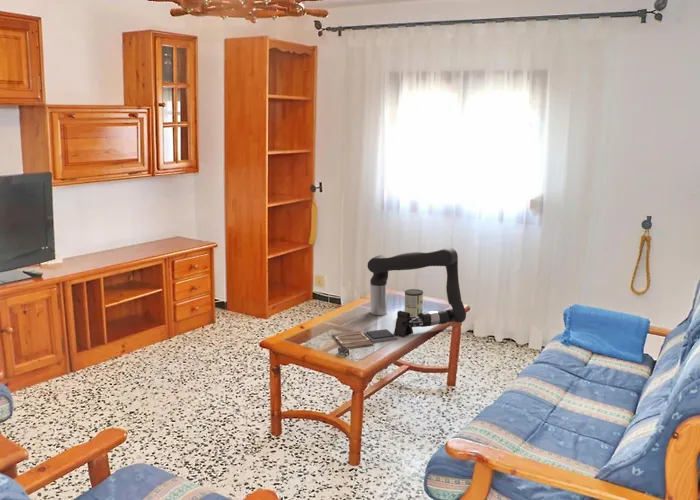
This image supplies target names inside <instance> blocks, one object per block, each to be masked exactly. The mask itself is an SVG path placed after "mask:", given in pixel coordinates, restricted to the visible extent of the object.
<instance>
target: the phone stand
mask: <svg viewBox="0 0 700 500" xmlns="http://www.w3.org/2000/svg"><path fill="white" fill-rule="evenodd" d="M396 313H397V314H396V315H397V317H396V319H397V321H395V327H394V331H393V335H394V336H396V337H400V338H406V337H407V336H409V335H413V333H414V329H413V327H411V326H409V325H408V326H401V322H407V321H408V322H409V321H411V320H410V313H408V312H405V310H404V311H402V310H398V311H397V312H396Z"/></svg>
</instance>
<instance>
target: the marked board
mask: <svg viewBox="0 0 700 500" xmlns="http://www.w3.org/2000/svg"><path fill="white" fill-rule="evenodd" d="M331 336H333V337H334V338H335V339H336V340H337V341H336V340H335V339H334V338H333V337H332V338H333V339H334V340H335V341H336V343H338V344H339V345H340V347H341V346H345V347H346V348H347V349H348V348H350V349H356V347H358V348H364V347H372V346H374V343H372V342H371V341H370V340H369V339H368V338H367V337H366V336H365V335H364V332H361V330H356V331H347V332H338V333H332V334H331ZM348 350H349V349H348Z"/></svg>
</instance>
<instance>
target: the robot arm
mask: <svg viewBox="0 0 700 500" xmlns="http://www.w3.org/2000/svg"><path fill="white" fill-rule="evenodd" d="M458 257H459V255H458V252H457V251H456V250H455V249H454V248H452V247H446V248H445V247H444V248H442V249H438V250H435V251H429V252H422V251H415V252H413V251H411V252H405V253H400V254H397V255H394V256H390V257H386V256H384V255H380V254H379V255H377V256H374V257H372V258H370V259H369V260H368V262H367V265H366V266H367V269H368V271H369V272H371V273H373V274H372V276H371V278H370V280H369V281H370V283H369V284H370V291H369V292H370V300H369V301H370V303H369V304H370V314H371V315H374V316H384V315H386V314H387V310H388V309H387V306H388V302H387V301H388V297H387V296H388V295H387V294H388V293H387V289H388V288H387V286H388V284H387V283H388V279H389V272H390V271H408V270H410V271H411V270H417V269H418V270H419V269H423V268H426V267H445V269H446V284H445V285H446V287H445V288H446V289H445V291H446V297H447V302H448V304H449V305H450V306H451V308H448V309H446V310H445V309H444V310H436V311H435V310H433V311H432V310H431V311H423V312H421V313H419V315H418V316H413V315H412V314H410V320H411V321H409V322H408V321H407V322H401V326H408V325H409V326H411V327H412V328H418V327H422V328H425V327H433V326H434V327H435V326H437V325H444V324H448V323H453V322H454V323H459V324H460V323H463V322H465V320H466V318H467V311H466V308H465V306H464V303H463V302H462V301H463V300H462V295H461V294H462V293H461V289H460V283H459V258H458ZM396 321H397V318H396ZM396 321H395V322H396Z"/></svg>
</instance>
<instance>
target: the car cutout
mask: <svg viewBox="0 0 700 500" xmlns="http://www.w3.org/2000/svg"><path fill="white" fill-rule="evenodd" d="M339 352H340V353H343V354H342V355H344V354H346V355H347V356H350V355H351V354H350V349H347V348H346V347H345V346H341V345H340V346H339V347H338V348H337V354H338V353H339ZM340 353H339V354H340ZM346 355H345V356H346Z"/></svg>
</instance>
